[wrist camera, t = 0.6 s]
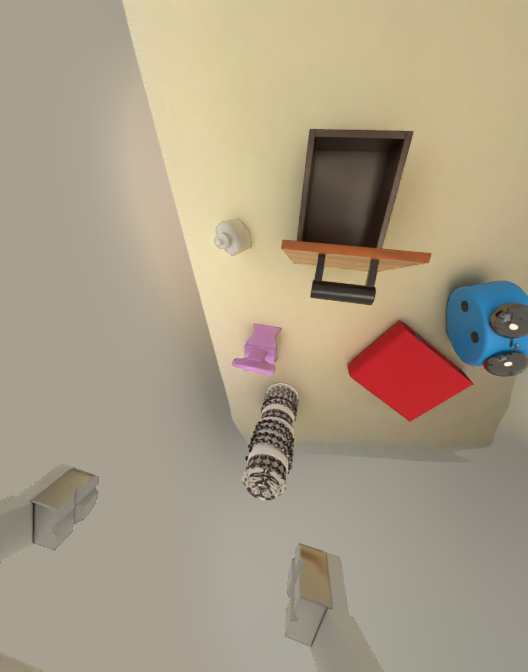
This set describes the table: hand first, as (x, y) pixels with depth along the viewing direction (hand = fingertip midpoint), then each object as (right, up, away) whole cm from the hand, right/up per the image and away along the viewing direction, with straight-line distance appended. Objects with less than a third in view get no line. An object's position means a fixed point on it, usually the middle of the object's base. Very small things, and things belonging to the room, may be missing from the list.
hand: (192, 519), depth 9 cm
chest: (+16, +30, +33) cm, 47 cm away
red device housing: (+33, 0, +44) cm, 55 cm away
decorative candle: (+8, -9, +55) cm, 56 cm away
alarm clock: (+40, +12, +37) cm, 55 cm away
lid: (+12, +17, +20) cm, 29 cm away
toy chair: (+3, +6, +49) cm, 49 cm away
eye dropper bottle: (-2, +27, +39) cm, 47 cm away
